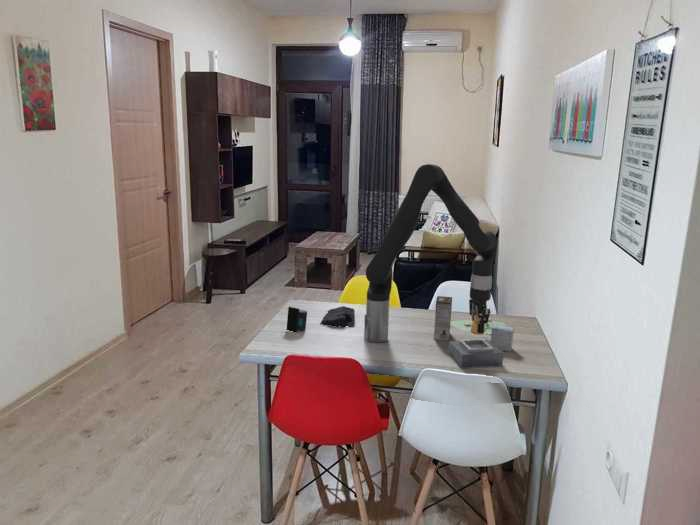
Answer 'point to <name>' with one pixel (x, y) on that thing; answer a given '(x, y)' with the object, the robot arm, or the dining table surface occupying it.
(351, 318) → the dark slate chunk
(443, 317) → the coffee box
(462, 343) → the block
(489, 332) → the plant
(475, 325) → the tan stepped cylinder
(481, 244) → the robot arm
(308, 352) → the dining table surface
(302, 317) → the speaker
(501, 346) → the medicine box
